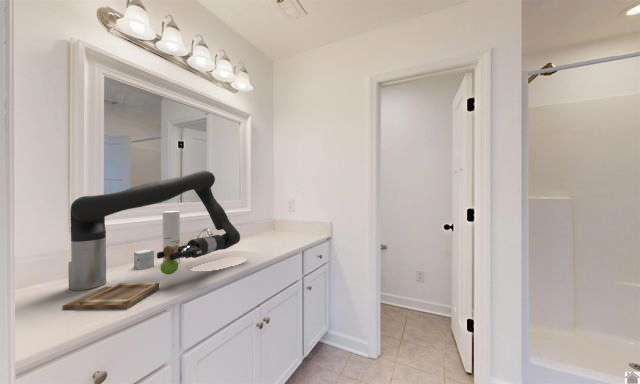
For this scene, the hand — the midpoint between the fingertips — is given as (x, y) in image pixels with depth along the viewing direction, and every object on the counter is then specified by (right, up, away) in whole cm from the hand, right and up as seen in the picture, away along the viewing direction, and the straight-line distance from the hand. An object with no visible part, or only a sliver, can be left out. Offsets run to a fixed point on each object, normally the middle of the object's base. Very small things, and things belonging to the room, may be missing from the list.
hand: (164, 256), depth 84 cm
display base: (-11, -12, -8) cm, 18 cm away
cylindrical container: (-17, -12, +31) cm, 38 cm away
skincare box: (-26, -12, +25) cm, 38 cm away
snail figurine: (+1, -7, +2) cm, 8 cm away
